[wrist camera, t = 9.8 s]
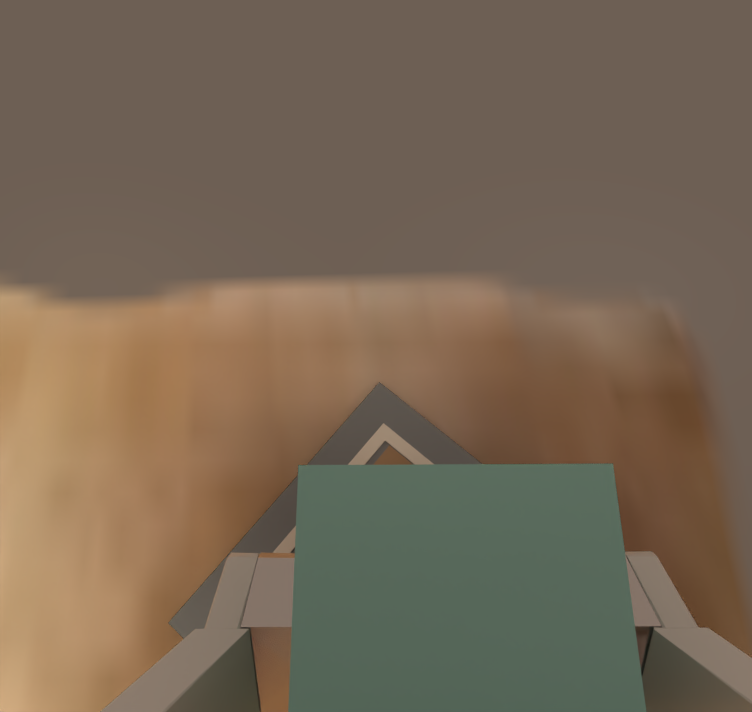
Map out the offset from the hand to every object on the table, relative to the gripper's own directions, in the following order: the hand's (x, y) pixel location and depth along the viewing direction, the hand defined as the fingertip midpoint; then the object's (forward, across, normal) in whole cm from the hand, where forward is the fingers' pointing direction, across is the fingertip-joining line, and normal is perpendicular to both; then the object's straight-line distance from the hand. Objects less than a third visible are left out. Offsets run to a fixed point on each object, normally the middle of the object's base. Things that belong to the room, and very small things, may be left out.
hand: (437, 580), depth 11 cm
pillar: (+3, 0, +4) cm, 5 cm away
